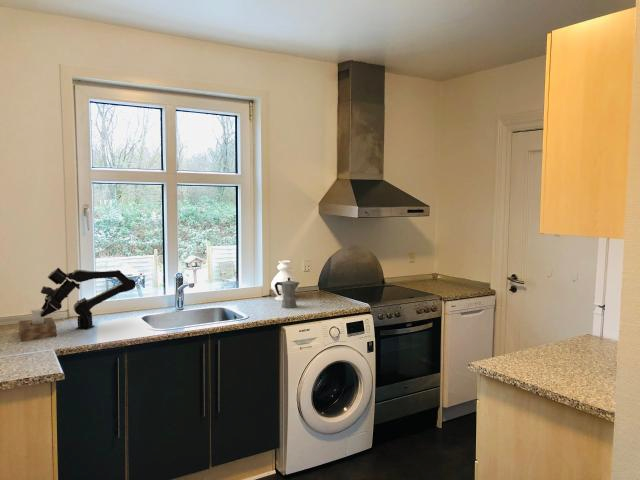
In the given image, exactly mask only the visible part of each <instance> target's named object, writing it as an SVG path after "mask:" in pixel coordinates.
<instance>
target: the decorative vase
mask: <svg viewBox="0 0 640 480" xmlns="http://www.w3.org/2000/svg"><path fill="white" fill-rule="evenodd" d="M278 263H279V264H278V265H277V270H278V272H277V274H276V275H275V276H274V277H273V279H272V281H271V283H270V284H271V285H270V287H271V290H272V291H273V292H274V293H275V295H276V296H275V300H276V301H283V296H284V294H283V291H282V285H277V287H278V290H279V294H281V295H278V294H277V291H276V289H275V284H276V283H277V282H284V281H288V278H290V281H294V282H299V281H298V280H297V277H296V276H295V275H294V274H293V273H292V272H291V270H292V268H293V266H292V264H290V263H291V260H286V259H285V260H284V259H283V260H278ZM298 289H299V285H298V286H297V288H296V290H295V292H296V291H297V290H298Z"/></svg>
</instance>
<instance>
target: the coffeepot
mask: <svg viewBox="0 0 640 480" xmlns="http://www.w3.org/2000/svg"><path fill="white" fill-rule="evenodd" d="M277 285H282V291H283V294H284V296H283V300H281V302H282V303H281V308H282V309H296V308H297V306H298V305H297V301H296V299H297V298H296V294H295V293H296V291H297V290H296V288H297V286H298V287H299V285H300V282H299V281H298V282H294V281H290V278H288V281H284V282H277V283H276V284H275V289H276V291H277V294H278V295H281V294H279V290H278V287H277ZM297 289H298V288H297ZM295 290H296V291H295Z"/></svg>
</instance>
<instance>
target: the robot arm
mask: <svg viewBox="0 0 640 480" xmlns="http://www.w3.org/2000/svg"><path fill="white" fill-rule="evenodd" d="M47 278H48V279H49V280H50V281H52V282H53V283H54V284H55V285H60V286H59V287H56V288H55V289H54V288H52V287H49V286H44V285H43V286H42V288H41V290H40V293H41V294H43V295H45V297H44V303H43V305H42V306H41V308H40V309H43V313H42V314H41V317H44V318H45V317H46V316H48V315H50V314H52V313H55V312H57V311H60V310H61V309H62V308H63V307H62V306H63V303H62V302H63V301H64V300H65V299H66V298H68V296H69V295H70V294H71V293H72V292H73V291H74V290H75V289H77V290H80V289H81V288H80V285H81V284H80V283H82V282H86V281H90V280H93V279H96V280H97V279H98V280H99V279H110V278H113V279H115V278H116V279H117V280H118V281H120V282H118V283H117V284H116V285H115V286H113V287H111V288H109V289H107V290H105V291H103V292H101V293H99V294H97V295H95V296H93V297H91V298H88V299H86V297H83V298H81V299H79V300H76V302H75V303H74V305H73V310H74V312H75V313H76V314H77V315H78V316H77V327H76V328H75V329H78V330H89V329H91V328H95V325H94V324H93V312H92V311H91V309H93V308H94V307H95V306H97V305H98V304H101V303H103V302H105V301H106V300H108V299H110V298H113V297H115V296H117V295H118V294H120V293H121V294H122V293H125V292H129V291H132V290H134V289H135V288H136V281H135V280H134V279H132V278H130V277H128V276H127V275H125V274H124V273H123V272H122V271H121V270H119V269H116V268H115V269H108V270H94V271H93V270H85V269H76V270H73V272H69V273H65V272H64V271H62V269H61V268H59V267H57V268H56V269H54V270H53V271H51V272H50V274H48V276H47Z"/></svg>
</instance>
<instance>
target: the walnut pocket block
mask: <svg viewBox="0 0 640 480" xmlns="http://www.w3.org/2000/svg"><path fill="white" fill-rule="evenodd" d="M17 323H18V334H19V339H20V342H27V341H35V340H36V341H37V340H40V339H42V338H43V339H49V337H50V338H55V337H56V336H57V325H56V322H55V321H54V319H53V317H52V316H50V317H44V324H39V325H32V319H29V320H28V319H27V320H25V319H24V320H18V322H17Z"/></svg>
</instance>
